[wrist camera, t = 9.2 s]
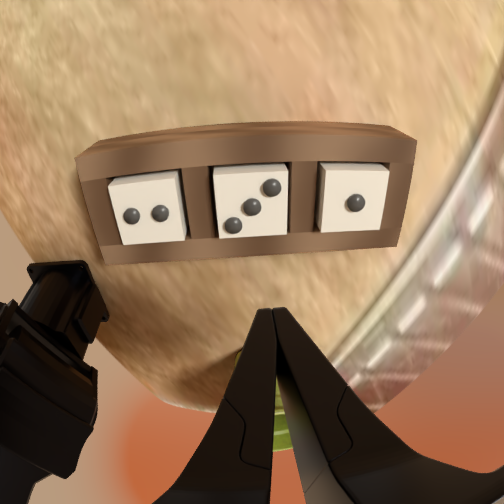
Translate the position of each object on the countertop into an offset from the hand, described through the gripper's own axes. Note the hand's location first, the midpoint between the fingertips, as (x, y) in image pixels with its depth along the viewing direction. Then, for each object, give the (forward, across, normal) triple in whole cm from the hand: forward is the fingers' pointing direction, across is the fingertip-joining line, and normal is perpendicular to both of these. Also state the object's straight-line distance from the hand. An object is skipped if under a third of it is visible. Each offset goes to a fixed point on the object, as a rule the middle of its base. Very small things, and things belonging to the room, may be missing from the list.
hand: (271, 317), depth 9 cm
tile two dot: (+10, +6, 0) cm, 12 cm away
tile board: (+12, 0, 0) cm, 12 cm away
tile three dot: (+10, 0, 0) cm, 10 cm away
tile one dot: (+10, -5, 0) cm, 11 cm away
